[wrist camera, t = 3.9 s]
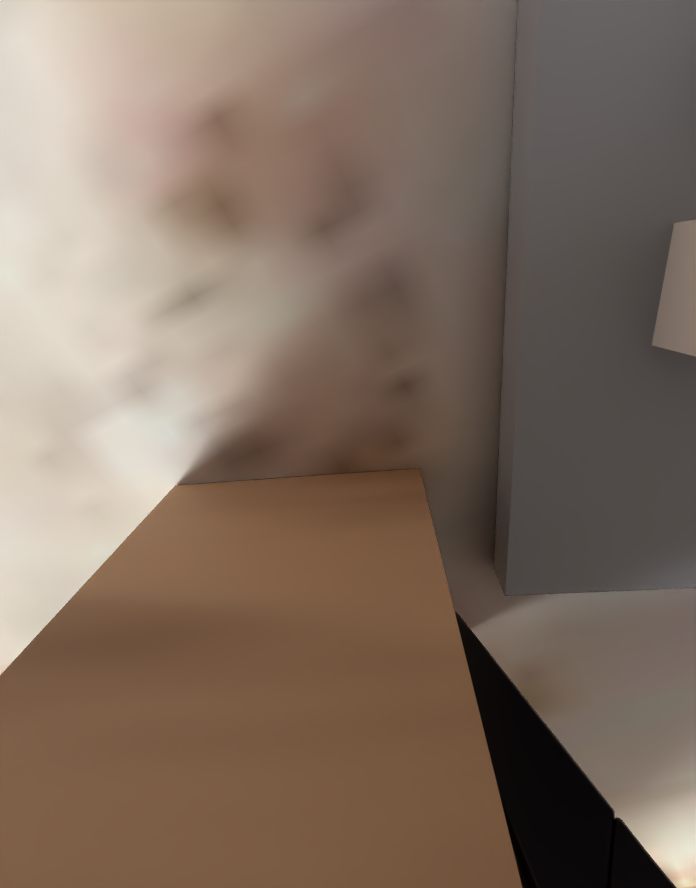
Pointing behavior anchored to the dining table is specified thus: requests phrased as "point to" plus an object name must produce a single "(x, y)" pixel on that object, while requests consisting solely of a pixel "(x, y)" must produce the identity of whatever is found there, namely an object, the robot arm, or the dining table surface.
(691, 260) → the panel
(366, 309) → the dining table surface
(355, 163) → the dining table surface
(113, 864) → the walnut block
